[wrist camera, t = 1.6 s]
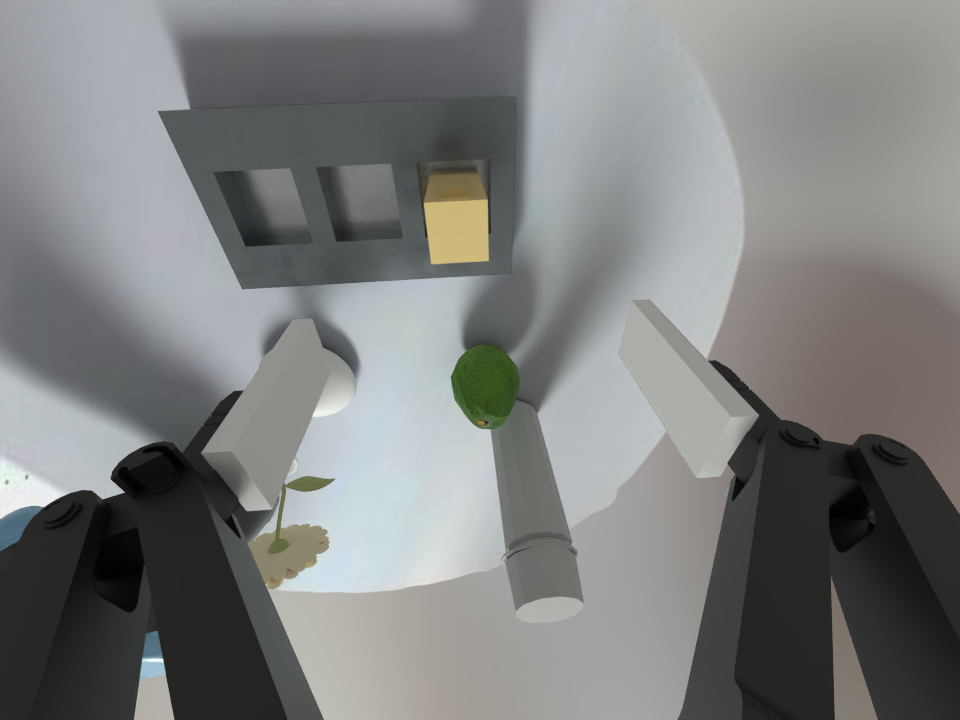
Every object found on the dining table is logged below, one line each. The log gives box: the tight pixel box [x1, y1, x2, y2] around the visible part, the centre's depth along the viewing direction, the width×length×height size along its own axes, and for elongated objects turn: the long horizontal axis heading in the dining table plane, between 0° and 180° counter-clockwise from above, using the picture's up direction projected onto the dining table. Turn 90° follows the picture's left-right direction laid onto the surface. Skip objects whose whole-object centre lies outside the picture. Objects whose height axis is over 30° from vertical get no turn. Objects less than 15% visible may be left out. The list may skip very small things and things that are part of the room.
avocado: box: [451, 344, 520, 429], centre depth 41 cm, size 8×8×12 cm
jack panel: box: [158, 96, 516, 289], centre depth 32 cm, size 26×14×4 cm, turn 92°
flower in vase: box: [248, 348, 356, 589], centre depth 36 cm, size 13×11×25 cm
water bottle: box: [491, 400, 584, 623], centre depth 43 cm, size 9×8×25 cm
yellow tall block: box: [424, 167, 489, 264], centre depth 28 cm, size 4×5×12 cm
